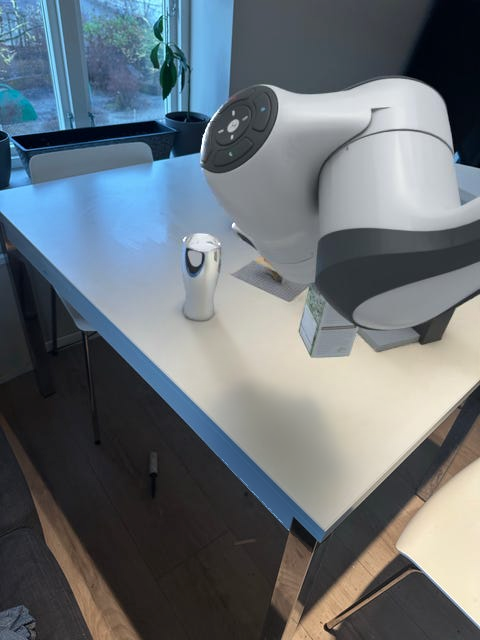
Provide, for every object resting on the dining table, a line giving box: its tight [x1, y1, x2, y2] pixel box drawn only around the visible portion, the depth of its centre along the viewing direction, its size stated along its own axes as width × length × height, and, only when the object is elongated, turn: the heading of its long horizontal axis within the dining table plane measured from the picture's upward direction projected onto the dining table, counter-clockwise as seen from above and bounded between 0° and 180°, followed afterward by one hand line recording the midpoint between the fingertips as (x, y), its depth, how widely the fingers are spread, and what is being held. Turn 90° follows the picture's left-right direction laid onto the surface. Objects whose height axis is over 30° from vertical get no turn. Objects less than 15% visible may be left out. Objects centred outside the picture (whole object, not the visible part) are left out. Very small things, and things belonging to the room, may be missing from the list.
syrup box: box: [297, 282, 359, 359], centre depth 56 cm, size 6×6×14 cm
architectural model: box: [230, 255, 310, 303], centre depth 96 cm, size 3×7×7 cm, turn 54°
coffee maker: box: [357, 186, 478, 353], centre depth 81 cm, size 15×14×27 cm
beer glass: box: [181, 232, 223, 322], centre depth 81 cm, size 7×7×15 cm
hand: (340, 290), depth 56 cm, fingers closed on syrup box, 7 cm apart
